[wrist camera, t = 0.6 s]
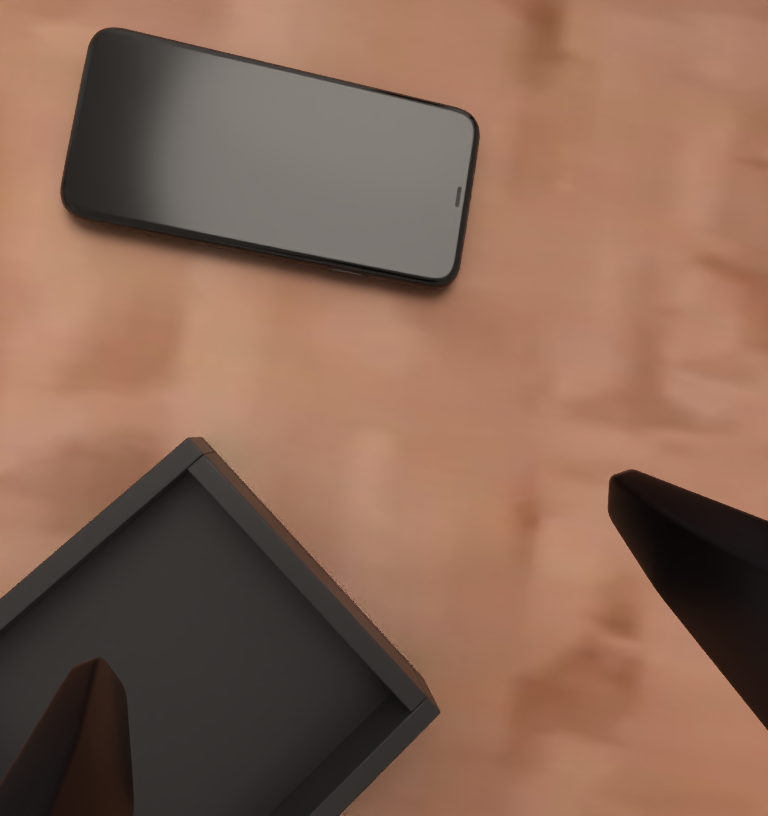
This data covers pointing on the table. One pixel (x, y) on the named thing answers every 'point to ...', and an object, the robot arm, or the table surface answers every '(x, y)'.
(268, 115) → the smartphone
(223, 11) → the table surface
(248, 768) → the black tray
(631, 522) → the robot arm
